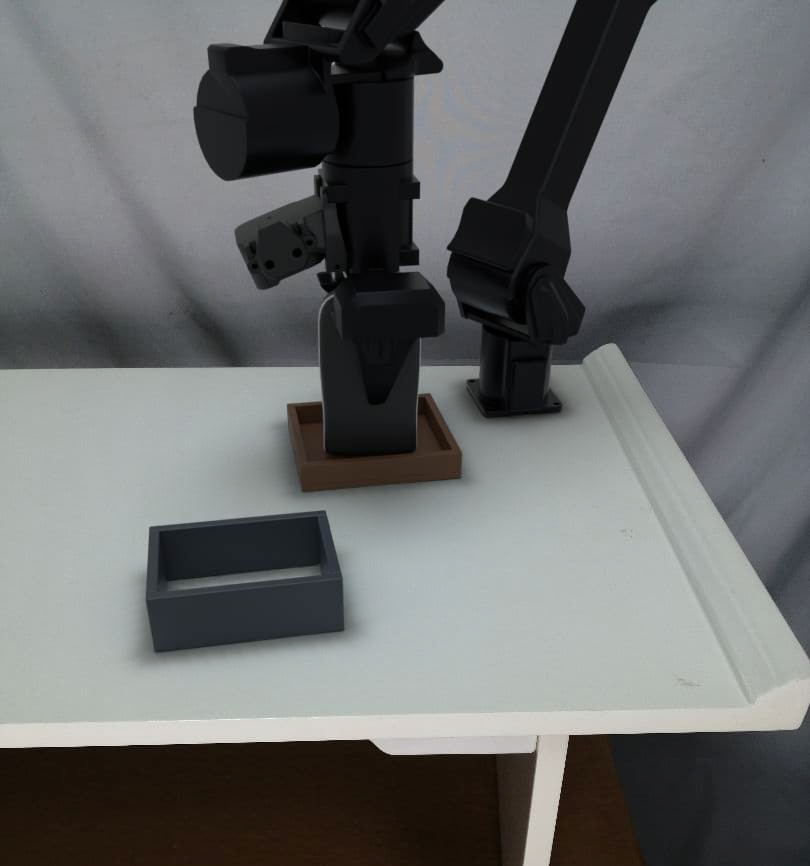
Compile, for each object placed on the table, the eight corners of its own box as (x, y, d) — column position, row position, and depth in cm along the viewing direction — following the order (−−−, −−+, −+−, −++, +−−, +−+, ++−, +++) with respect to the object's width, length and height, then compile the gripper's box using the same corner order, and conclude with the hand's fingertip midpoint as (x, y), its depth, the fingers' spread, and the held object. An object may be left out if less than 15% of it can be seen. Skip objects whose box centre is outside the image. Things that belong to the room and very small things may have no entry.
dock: (157, 576, 56) (148, 526, 54) (327, 558, 58) (325, 509, 56) (154, 652, 50) (145, 599, 48) (344, 630, 52) (342, 578, 50)
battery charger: (414, 435, 71) (416, 281, 66) (420, 455, 68) (423, 294, 62) (321, 438, 70) (315, 282, 65) (322, 458, 67) (316, 295, 62)
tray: (288, 427, 73) (286, 403, 72) (429, 415, 75) (430, 392, 74) (302, 492, 65) (300, 466, 64) (461, 477, 67) (462, 452, 66)
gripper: (229, 134, 65) (248, 349, 74) (244, 200, 50) (266, 462, 58) (389, 129, 67) (389, 340, 75) (451, 191, 52) (443, 447, 60)
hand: (371, 390), depth 67 cm, fingers closed on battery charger, 4 cm apart
